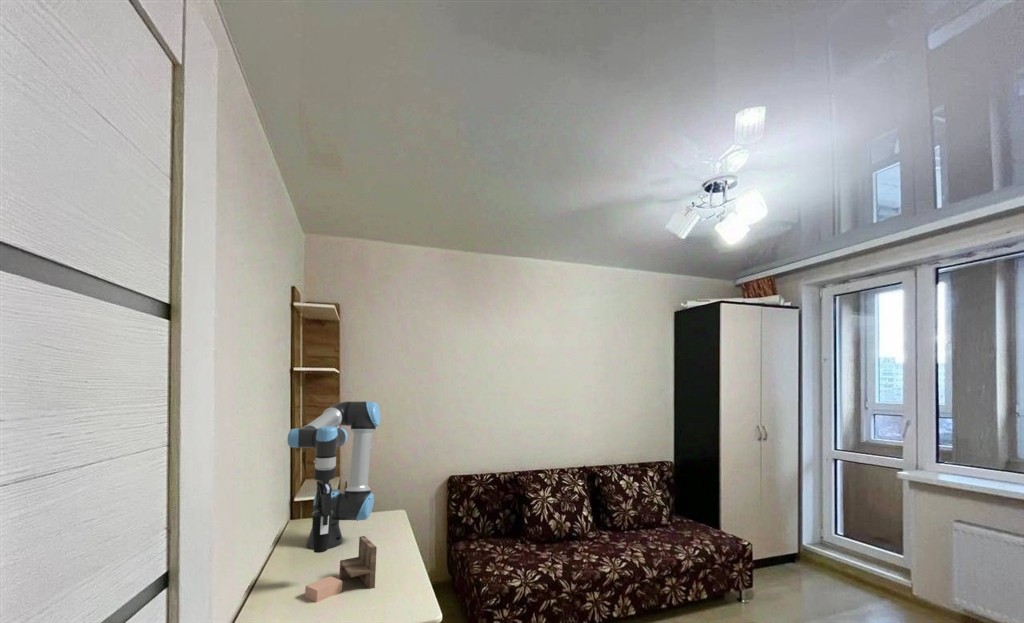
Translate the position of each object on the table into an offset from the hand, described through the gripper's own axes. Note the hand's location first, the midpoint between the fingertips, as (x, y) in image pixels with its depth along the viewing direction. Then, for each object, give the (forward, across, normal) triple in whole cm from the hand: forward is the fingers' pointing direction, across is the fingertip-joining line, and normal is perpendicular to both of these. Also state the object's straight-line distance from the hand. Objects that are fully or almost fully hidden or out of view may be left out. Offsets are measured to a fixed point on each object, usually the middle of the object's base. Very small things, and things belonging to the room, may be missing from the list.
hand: (321, 530), depth 180 cm
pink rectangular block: (+19, +10, 0) cm, 22 cm away
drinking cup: (+7, 0, 0) cm, 7 cm away
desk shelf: (+19, +7, +12) cm, 23 cm away
